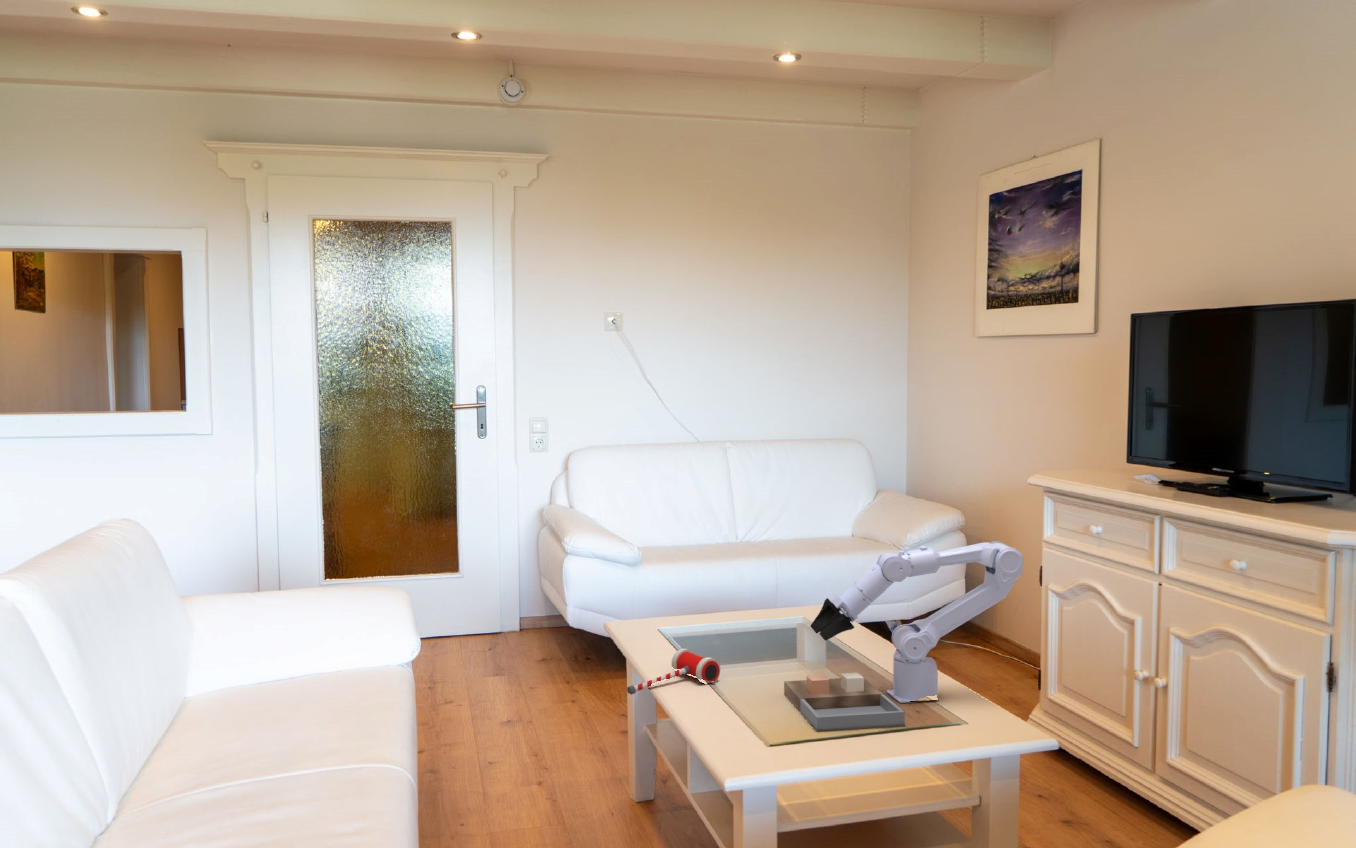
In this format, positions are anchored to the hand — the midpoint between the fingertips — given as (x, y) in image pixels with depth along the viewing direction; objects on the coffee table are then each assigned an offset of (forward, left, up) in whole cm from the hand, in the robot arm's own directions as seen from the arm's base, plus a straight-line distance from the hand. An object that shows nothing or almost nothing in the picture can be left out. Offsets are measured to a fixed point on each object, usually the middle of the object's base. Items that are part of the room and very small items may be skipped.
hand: (817, 633), depth 219 cm
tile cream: (-7, +4, -10) cm, 13 cm away
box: (-3, +15, -15) cm, 21 cm away
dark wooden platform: (-3, +2, -15) cm, 15 cm away
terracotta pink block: (+1, +4, -10) cm, 11 cm away
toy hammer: (+30, -17, -15) cm, 37 cm away
